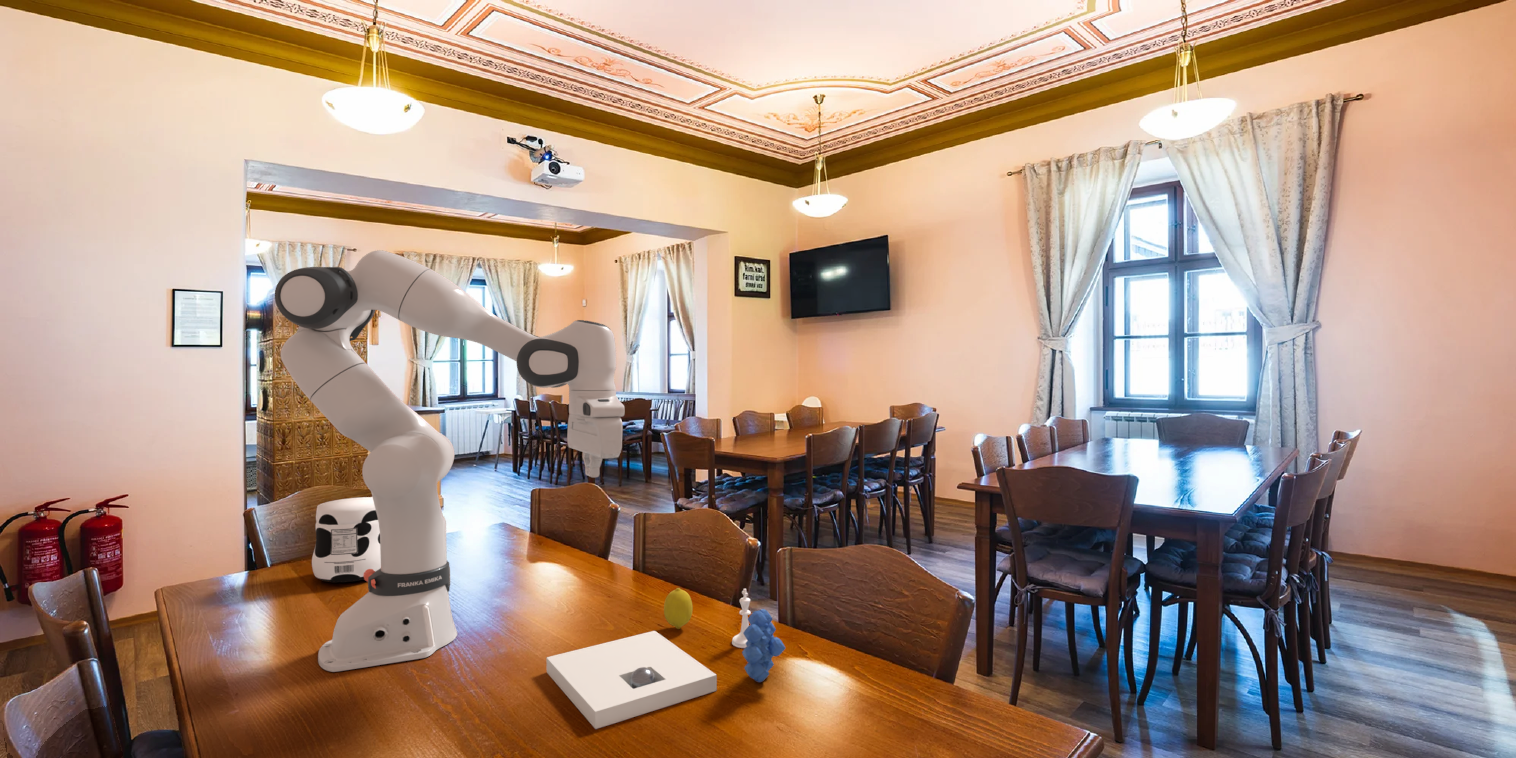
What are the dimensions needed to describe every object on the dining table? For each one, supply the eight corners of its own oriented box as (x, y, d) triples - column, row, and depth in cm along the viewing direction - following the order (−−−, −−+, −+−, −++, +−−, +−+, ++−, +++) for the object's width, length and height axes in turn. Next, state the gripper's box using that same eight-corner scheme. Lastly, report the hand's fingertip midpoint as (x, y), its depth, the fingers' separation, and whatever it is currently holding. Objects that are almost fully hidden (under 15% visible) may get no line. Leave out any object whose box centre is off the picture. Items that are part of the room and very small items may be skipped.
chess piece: (739, 650, 125) (738, 595, 124) (727, 640, 129) (727, 587, 129) (763, 644, 127) (763, 590, 127) (751, 635, 131) (750, 583, 131)
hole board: (595, 729, 98) (595, 711, 98) (546, 672, 116) (546, 657, 116) (716, 690, 109) (716, 674, 109) (654, 644, 127) (654, 630, 127)
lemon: (687, 635, 131) (687, 593, 131) (660, 633, 132) (659, 591, 132) (696, 624, 137) (695, 584, 137) (669, 622, 138) (669, 582, 138)
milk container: (374, 562, 181) (372, 493, 180) (408, 573, 171) (406, 501, 170) (299, 579, 167) (298, 504, 166) (332, 593, 157) (330, 514, 156)
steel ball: (635, 701, 105) (634, 674, 106) (626, 693, 109) (625, 667, 109) (660, 694, 108) (659, 668, 108) (649, 687, 111) (649, 661, 111)
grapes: (776, 701, 106) (776, 623, 105) (734, 695, 107) (733, 619, 107) (793, 669, 117) (793, 598, 116) (755, 664, 119) (755, 595, 118)
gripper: (559, 402, 140) (559, 470, 141) (595, 408, 123) (595, 485, 124) (589, 401, 144) (589, 467, 144) (628, 407, 127) (628, 482, 127)
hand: (592, 476), depth 134 cm, fingers closed
